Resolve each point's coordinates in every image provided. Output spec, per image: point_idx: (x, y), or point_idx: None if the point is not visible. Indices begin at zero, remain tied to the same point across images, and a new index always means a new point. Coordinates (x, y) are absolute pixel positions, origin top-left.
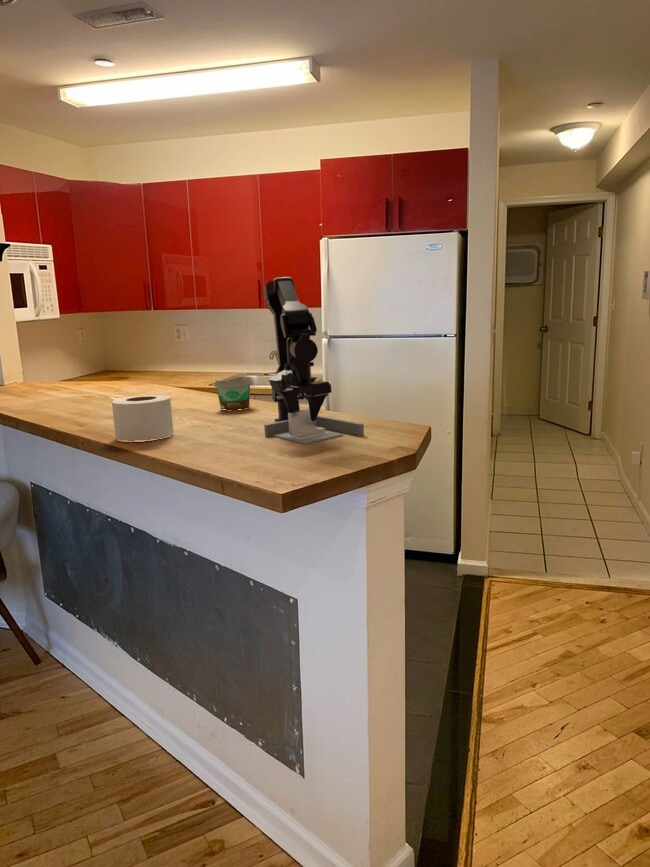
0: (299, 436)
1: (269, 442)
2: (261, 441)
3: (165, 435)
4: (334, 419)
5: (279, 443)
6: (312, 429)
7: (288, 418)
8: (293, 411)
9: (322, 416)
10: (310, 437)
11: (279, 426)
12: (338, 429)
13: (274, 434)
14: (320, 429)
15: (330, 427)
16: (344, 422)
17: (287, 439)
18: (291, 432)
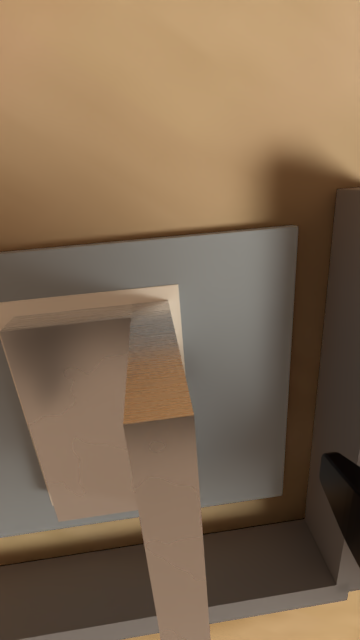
0: (28, 319)
1: (127, 67)
2: (222, 30)
3: None
4: (123, 625)
5: (24, 117)
6: (87, 456)
7: (178, 370)
8: (345, 519)
9: (269, 610)
10: (4, 380)
11: (356, 325)
12: (86, 565)
13: (332, 258)
14: (49, 490)
15: None
16: (11, 634)
17: (101, 243)
18: (137, 314)
